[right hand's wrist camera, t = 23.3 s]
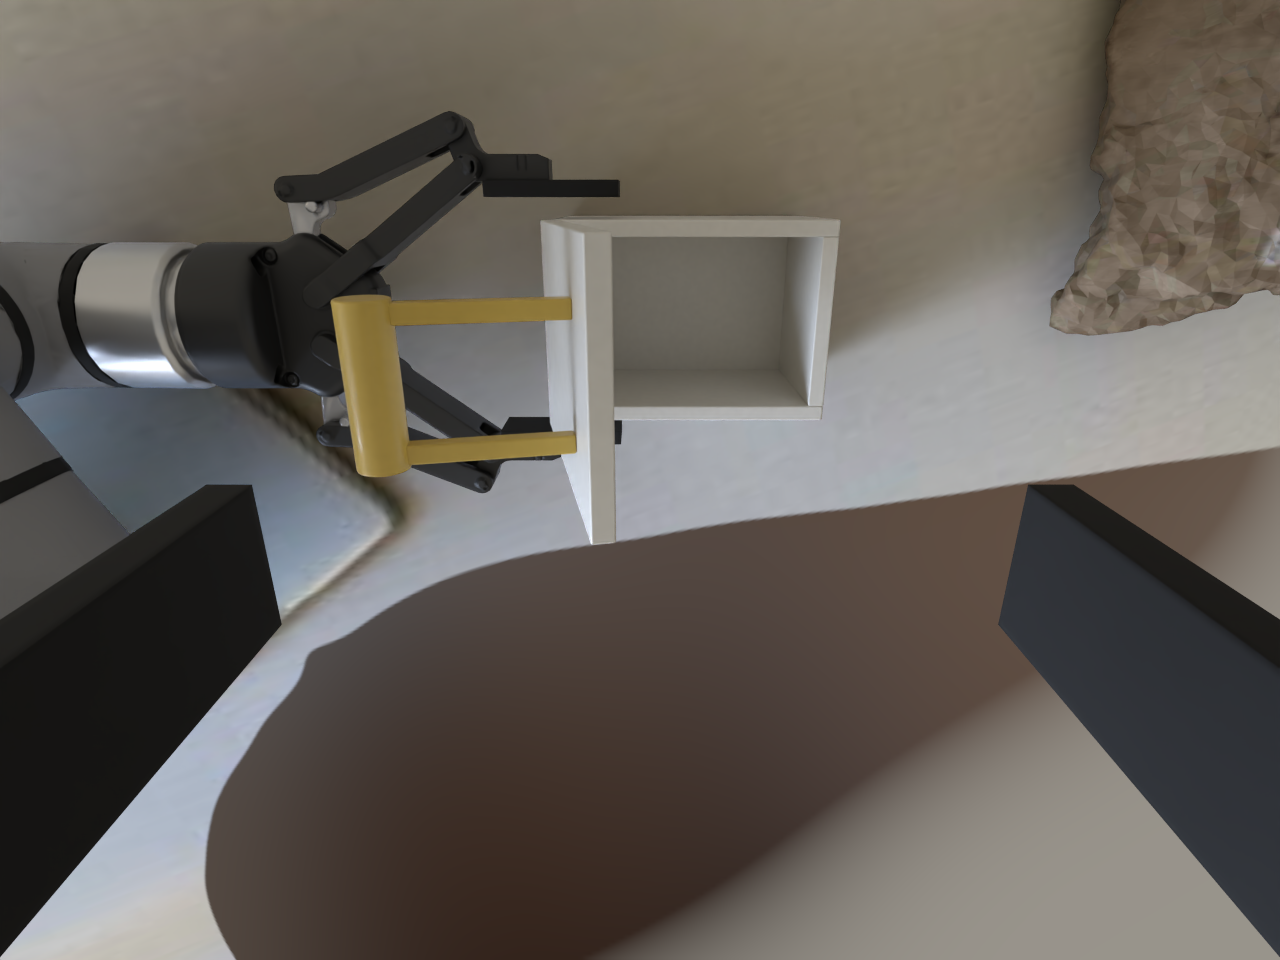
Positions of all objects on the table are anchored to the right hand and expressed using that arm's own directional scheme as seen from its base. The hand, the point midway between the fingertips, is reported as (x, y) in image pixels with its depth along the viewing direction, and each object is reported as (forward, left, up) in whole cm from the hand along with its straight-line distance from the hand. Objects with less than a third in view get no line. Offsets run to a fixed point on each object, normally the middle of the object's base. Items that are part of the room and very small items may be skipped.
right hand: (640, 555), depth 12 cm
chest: (-3, 0, -34) cm, 34 cm away
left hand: (+1, 0, -27) cm, 27 cm away
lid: (+2, 0, -17) cm, 17 cm away
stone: (-31, -9, -34) cm, 47 cm away
